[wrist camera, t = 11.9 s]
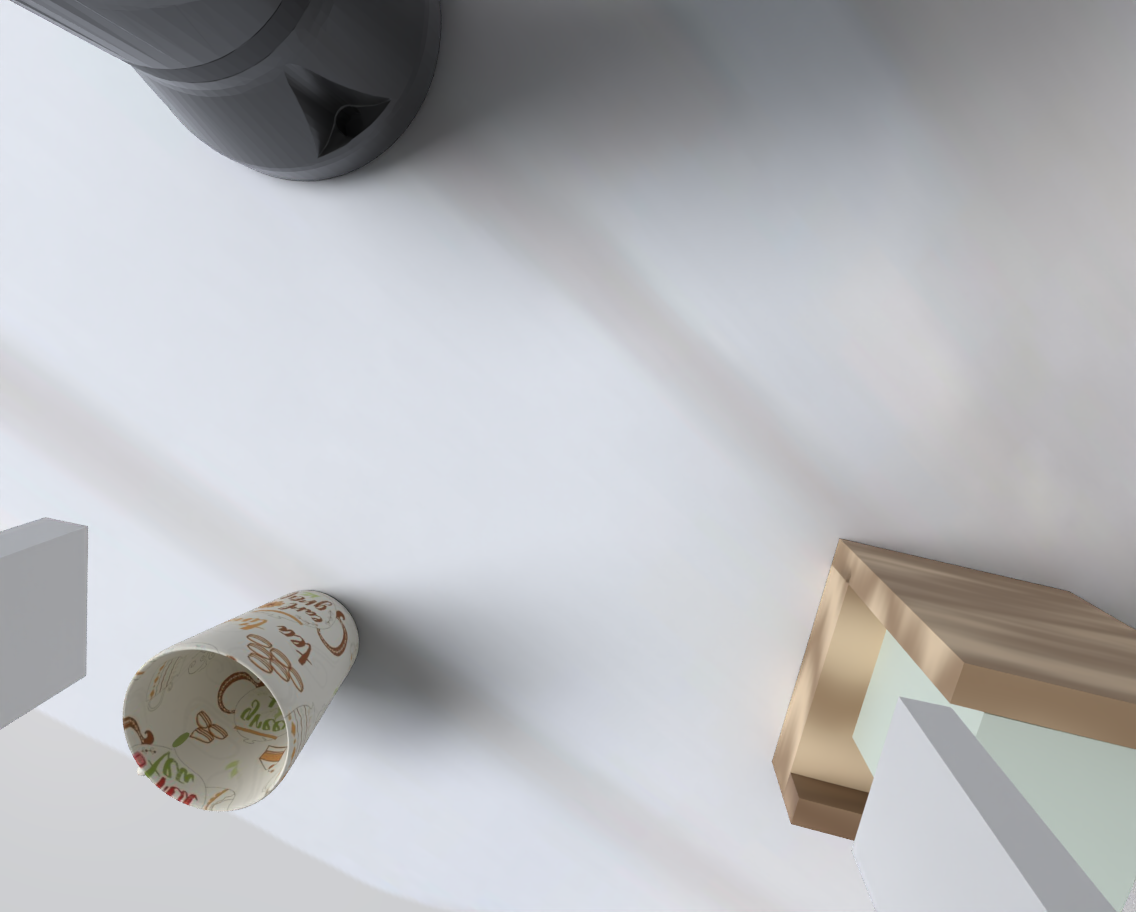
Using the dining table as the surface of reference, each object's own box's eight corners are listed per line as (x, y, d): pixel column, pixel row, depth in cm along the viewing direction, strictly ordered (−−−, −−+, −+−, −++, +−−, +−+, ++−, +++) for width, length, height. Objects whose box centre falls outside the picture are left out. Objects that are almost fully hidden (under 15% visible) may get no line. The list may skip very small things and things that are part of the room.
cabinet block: (891, 612, 32) (984, 712, 24) (1036, 646, 32) (1186, 761, 23) (845, 757, 34) (916, 901, 25) (983, 791, 33) (1104, 951, 25)
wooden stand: (839, 538, 35) (964, 662, 21) (1069, 591, 34) (1353, 756, 20) (772, 761, 38) (844, 1000, 24) (984, 816, 37) (1185, 1096, 23)
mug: (406, 649, 39) (327, 750, 29) (265, 759, 42) (149, 887, 32) (314, 543, 39) (203, 611, 29) (177, 661, 41) (32, 760, 31)
